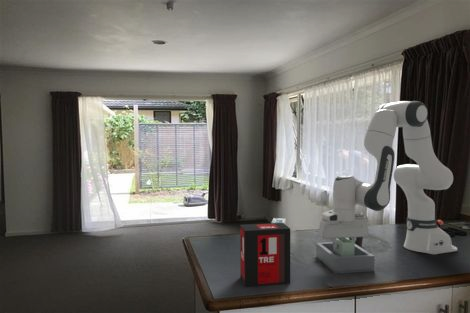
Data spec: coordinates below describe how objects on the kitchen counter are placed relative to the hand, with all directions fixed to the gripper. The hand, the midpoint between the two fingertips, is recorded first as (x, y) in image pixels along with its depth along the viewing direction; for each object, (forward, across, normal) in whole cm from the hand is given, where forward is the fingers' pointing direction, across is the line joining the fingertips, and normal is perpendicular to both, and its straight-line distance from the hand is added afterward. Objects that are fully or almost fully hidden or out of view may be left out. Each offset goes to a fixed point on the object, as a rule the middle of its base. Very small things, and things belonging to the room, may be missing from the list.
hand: (343, 247), depth 148 cm
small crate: (+3, 0, 0) cm, 3 cm away
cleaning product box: (+7, +36, +12) cm, 38 cm away
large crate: (+6, 0, 0) cm, 7 cm away
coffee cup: (+7, -16, -21) cm, 27 cm away
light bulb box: (+7, +18, -35) cm, 40 cm away
